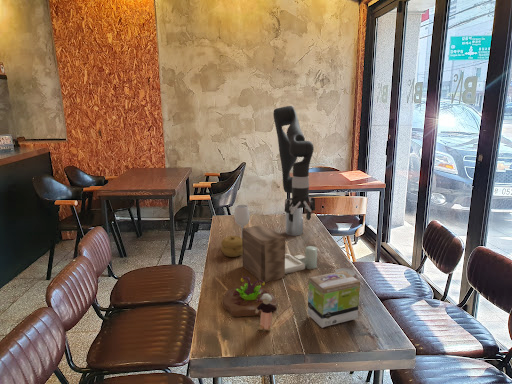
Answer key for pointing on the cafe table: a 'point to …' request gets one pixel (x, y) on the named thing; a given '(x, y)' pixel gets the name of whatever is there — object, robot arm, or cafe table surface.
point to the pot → (232, 246)
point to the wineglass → (241, 215)
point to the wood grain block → (263, 253)
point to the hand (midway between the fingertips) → (299, 220)
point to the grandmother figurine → (266, 312)
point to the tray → (294, 263)
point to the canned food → (347, 271)
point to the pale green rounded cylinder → (311, 257)
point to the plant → (246, 299)
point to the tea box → (333, 298)
